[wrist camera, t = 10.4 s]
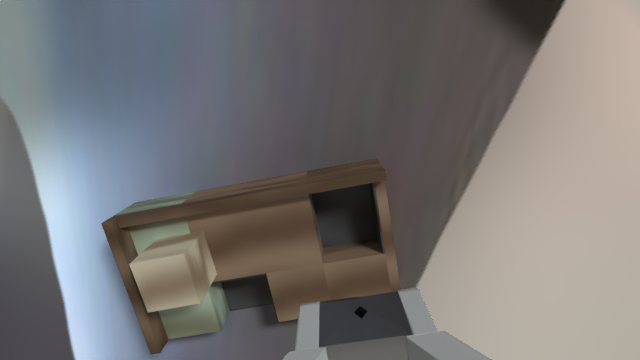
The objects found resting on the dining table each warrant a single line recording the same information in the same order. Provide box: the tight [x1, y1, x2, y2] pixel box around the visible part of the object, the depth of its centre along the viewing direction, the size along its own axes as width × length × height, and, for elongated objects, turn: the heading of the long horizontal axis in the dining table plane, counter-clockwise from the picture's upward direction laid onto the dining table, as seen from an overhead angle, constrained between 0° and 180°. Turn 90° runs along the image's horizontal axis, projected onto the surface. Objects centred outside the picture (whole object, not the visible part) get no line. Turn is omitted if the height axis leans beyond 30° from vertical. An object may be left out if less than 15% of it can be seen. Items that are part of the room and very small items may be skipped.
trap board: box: [101, 159, 401, 354], centre depth 36 cm, size 15×27×6 cm, turn 101°
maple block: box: [129, 231, 217, 313], centre depth 33 cm, size 5×5×5 cm
